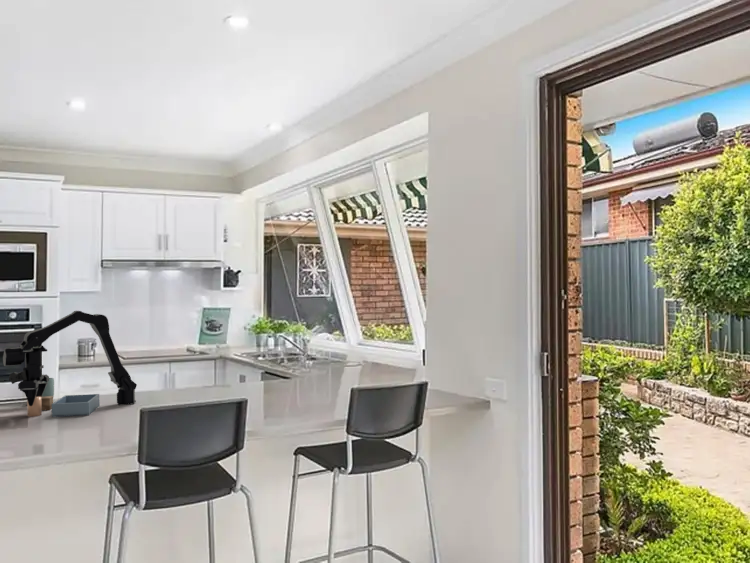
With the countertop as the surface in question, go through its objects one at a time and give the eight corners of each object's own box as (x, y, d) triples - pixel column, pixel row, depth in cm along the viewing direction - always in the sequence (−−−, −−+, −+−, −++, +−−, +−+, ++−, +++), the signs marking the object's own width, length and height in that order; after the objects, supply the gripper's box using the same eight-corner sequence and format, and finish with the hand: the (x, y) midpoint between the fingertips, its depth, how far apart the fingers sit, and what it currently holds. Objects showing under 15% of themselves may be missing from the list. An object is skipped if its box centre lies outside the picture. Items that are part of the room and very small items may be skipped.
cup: (46, 404, 287) (45, 380, 287) (30, 403, 289) (29, 380, 288) (58, 400, 295) (57, 377, 295) (42, 400, 296) (42, 377, 296)
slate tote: (99, 405, 281) (99, 393, 281) (88, 415, 262) (88, 402, 262) (65, 407, 278) (64, 395, 278) (51, 417, 259) (51, 404, 259)
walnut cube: (53, 408, 278) (52, 396, 278) (49, 410, 273) (49, 398, 273) (40, 408, 277) (39, 396, 277) (36, 411, 272) (36, 398, 272)
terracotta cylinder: (43, 413, 266) (43, 396, 266) (39, 416, 261) (39, 398, 261) (29, 414, 265) (29, 396, 265) (25, 417, 261) (25, 398, 260)
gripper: (19, 361, 271) (20, 400, 271) (2, 367, 253) (3, 409, 253) (49, 360, 273) (49, 399, 273) (34, 366, 255) (35, 407, 255)
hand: (34, 403), depth 263 cm, fingers open, 9 cm apart
